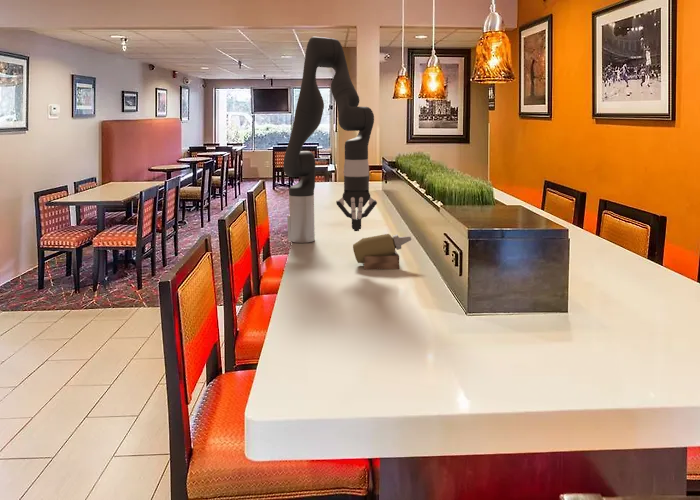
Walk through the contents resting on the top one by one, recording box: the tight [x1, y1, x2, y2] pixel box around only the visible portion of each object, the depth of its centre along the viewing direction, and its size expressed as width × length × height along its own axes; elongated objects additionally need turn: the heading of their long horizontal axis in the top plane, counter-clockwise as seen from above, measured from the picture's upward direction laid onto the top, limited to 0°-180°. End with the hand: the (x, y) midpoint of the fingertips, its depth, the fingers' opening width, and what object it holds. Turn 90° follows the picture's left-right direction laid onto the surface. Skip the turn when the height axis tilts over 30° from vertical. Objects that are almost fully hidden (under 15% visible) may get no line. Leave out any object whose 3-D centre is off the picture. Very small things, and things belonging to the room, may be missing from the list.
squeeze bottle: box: [352, 233, 412, 264], centre depth 184 cm, size 8×8×18 cm
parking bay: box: [363, 249, 400, 271], centre depth 186 cm, size 11×11×4 cm
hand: (356, 230), depth 184 cm, fingers closed
